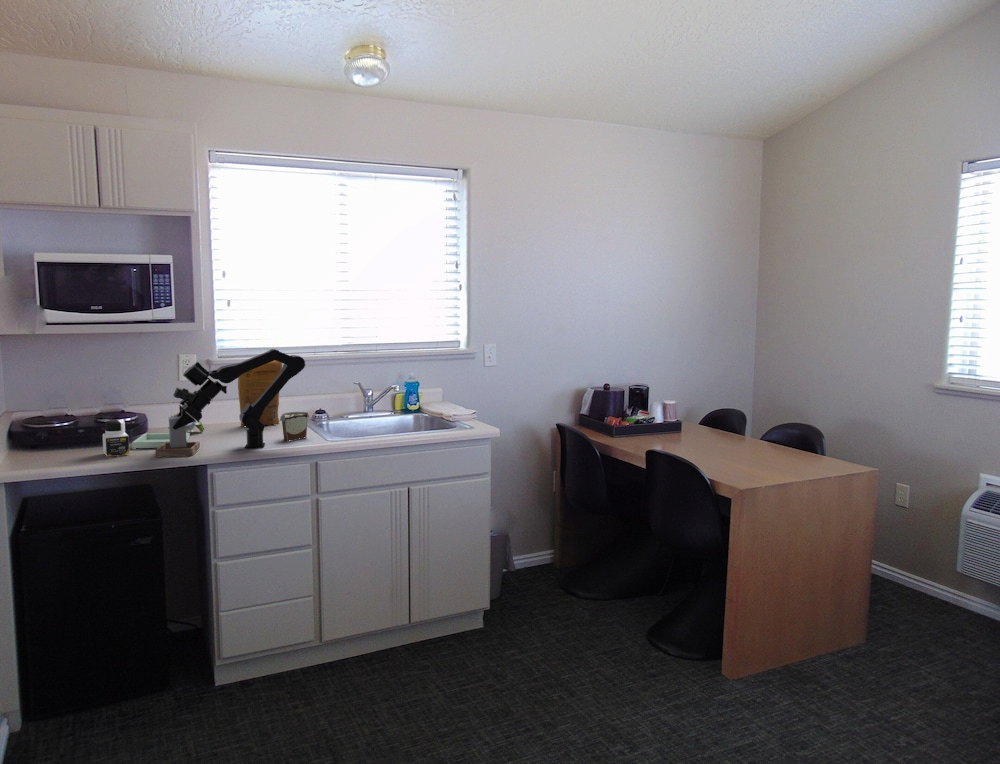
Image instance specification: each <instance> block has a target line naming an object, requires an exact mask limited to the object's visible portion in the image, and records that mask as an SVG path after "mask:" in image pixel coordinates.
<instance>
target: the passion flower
mask: <svg viewBox="0 0 1000 764" xmlns="http://www.w3.org/2000/svg"><path fill="white" fill-rule="evenodd" d="M178 413H179V412H178ZM178 413H174V414H171V415H170V417H177V415H178ZM195 420H196V419H195ZM195 428H197V429H198V430H199V431H200V433H202V432H204V430H205V427H204V426H203V423H202V422H201V420H199V421H197V420H196V421H194V422H192V423H189V424H187V425H186V433H188V431H189V432H191V433H194V432H195ZM168 429H169V426H168Z"/></svg>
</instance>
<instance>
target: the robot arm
mask: <svg viewBox="0 0 1000 764" xmlns="http://www.w3.org/2000/svg"><path fill="white" fill-rule="evenodd" d="M274 360H276V361H279V362H281V363H282V369H281V372H280V373H279V375H278V376H277V377H276V378H275V379H274V380H273V382H272V383H271V384H270V385H269V386H268V387H267V389H266V390H265V391H264V392H263V393H262V395H261V396H260V397H259V398H258V399H257V400H256V402H254V403H253V404H251V405H250V404H249V403H247V404H246V406H245V407H244V408H243V409H242V410H240V409H239V412H240V411H241V413H240V414H239V422H240V424H241V423H242V424H243V425H244V426H246V427H245V428H246V445H244V449H251V448H252V449H253V448H261V449H262V448H264V447H265V445H266V442H264V430H265V427H266V426H264V425H263V424H262V423H261V422H260V421H259V420H260V418H261V416H262V414H263V412H264V409H265V408H266V407H267V405H268V404H269V403H270V402H271V401H272V400H273V398H274V397H275V396H276V395H277V394H278V392H279V393H280V392H281V390H282V389H283V388H284V387H285V385H286V384H287V383H288V382H289V381H290V380H291V379H292V378H295V376H297V375H299V373H300V372H301V371H303V370H304V369H305V367H306V361H305V359H304V358H303V357H302V356H300V355H297V354H291V355H289V354H286V353H284V352H283V351H282V352H281V351H280V350H278V349H276V348H270V349H269V350H267V351H265V352H263V353H260V354H257V355H256V356H253V357H251V358H248V359H245V360H243V361H241V362H237V363H231V364H226V365H221V366H219V367H218V368H217V369H215V370H214V369H213V370H209V371H208V370H207V369H206V368H205V367H203V366H202V364H201V363H200V362H199V361H196V362H195V363H194V364H192V365H191V366H190V367H188V368H187V369H186V370H185V371H184V373H183V374H182V376H183V377H185V379H186V380H188V381H189V382H190V383H191V384H193V385H194V386H195V387H196V386H200V388H199V389H198V390H194V391H193V392H191V391H189V389H188V388H187V389H186V388H181V387H178V386H177V387H176V389H175V391H174V393H173V398H176V399H181V400H180V401H179V405H178V406H179V407H178V408H179V412H178V415H177V417H179V416H180V418H179V419H178V421H177V422H176V423H175V425H174V426H173V429H175V430H176V429H178V428H180V427H182V426H185V425H187V424H189V423H192V422H194V421H196V420H197V421H201V419H202V418H203V413H202V412H203V409H205V407H207V406H209V405H210V404H211V402H212V400H214V398H216V396H217V395H218V394H219V393H220V392H222V393H223V394H224V395H226V394H228V393H227V389H228V388H227V387H228V386H227V385H223V384H230V383H232V382H234V381H235V380H238V377H240V376H241V375H242V374H244V373H245V372H248V371H250V370H252V369H255V368H257V367H260V366H262V365H264V364H267V363H269V362H272V361H274ZM212 379H213V380H215V381H213V380H212ZM218 380H219V381H218ZM221 383H222V384H221ZM195 419H196V420H195Z"/></svg>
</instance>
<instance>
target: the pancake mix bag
mask: <svg viewBox="0 0 1000 764" xmlns="http://www.w3.org/2000/svg"><path fill="white" fill-rule="evenodd" d="M282 367H283V363H281V362H279V361H276V360H274V361H272V362H269V363H267V364H264V365H262V366H260V367H257V368H255V369H252V370H250V371H248V372H245V373H244V374H242V375H241V376H240V377H238V378H237V390H238V401H239V412H240V414H241V411H240V410H242V409H243V408H244V407H245V406H246V404H247V403H249V404H250V405H251V404H253V403H254V402H256V400H257V399H258V398H259V397H260V396H261V395H262V393H263V392H264V391H265V390H266V389H267V387H268V386H269V385H270V384H271V383H272V382H273V380H274V379H275V378H276V377H277V376H278V375H279V373H280V372H281V369H282ZM279 405H280V391H279V392H278V394H277V395H276V396H275V397H274V398H273V400H272V401H271V402H270V403H269V404H268V405H267V407H266V408H265V409H264V412H263V414H262V416H261V418H260V420H259V421H260V422H261V423H262V424H263V425H268V426H272V425H271V424H277V423H279V422H280V418H279ZM279 424H280V423H279ZM277 425H278V424H277ZM241 426H244V425H243V424H242V423H241V422H240V427H241Z"/></svg>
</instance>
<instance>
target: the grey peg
mask: <svg viewBox="0 0 1000 764" xmlns="http://www.w3.org/2000/svg"><path fill="white" fill-rule="evenodd" d="M179 418H180V416H179V417H174V416H173V417H171V416H169V417H168V427H169V428H168V433H169V437H170V446H171V448H174V447H186V446H187V445H186V425H185V426H182V427H180V428H178V429H176V430H175V429H173V426H174V425H175V423H176V422H177V421H178V419H179Z"/></svg>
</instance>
